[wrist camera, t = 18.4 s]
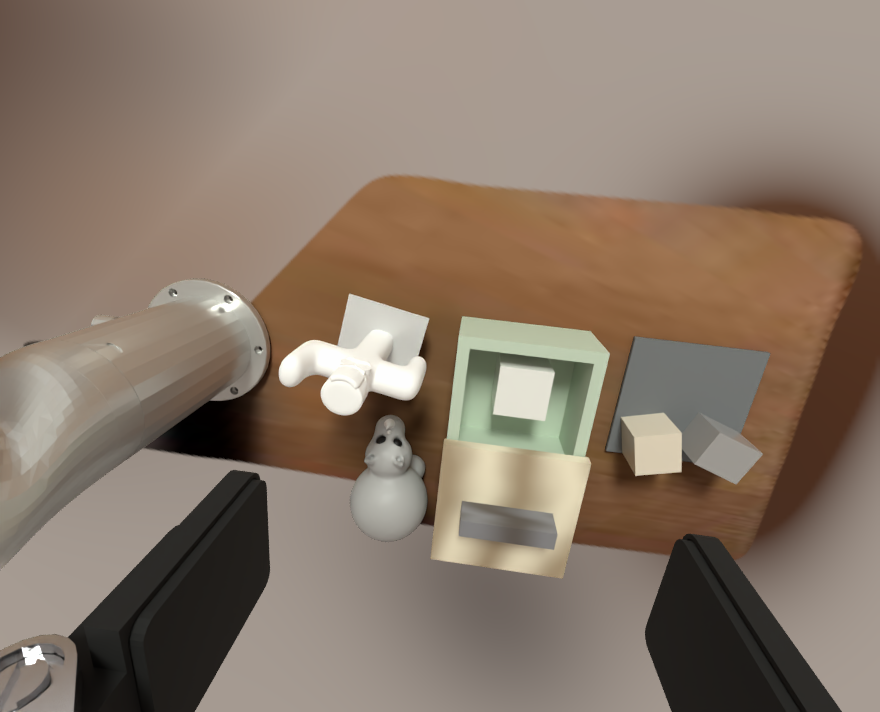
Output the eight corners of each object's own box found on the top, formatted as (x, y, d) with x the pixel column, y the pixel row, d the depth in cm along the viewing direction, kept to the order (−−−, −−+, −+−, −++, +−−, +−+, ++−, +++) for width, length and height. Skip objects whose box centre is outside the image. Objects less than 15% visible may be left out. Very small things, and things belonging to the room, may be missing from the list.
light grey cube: (675, 441, 43) (694, 464, 39) (698, 412, 42) (720, 432, 38) (714, 460, 43) (736, 484, 40) (737, 431, 42) (763, 453, 38)
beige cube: (622, 452, 44) (635, 475, 40) (620, 417, 43) (634, 437, 39) (664, 448, 43) (681, 471, 40) (663, 412, 42) (681, 432, 38)
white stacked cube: (491, 391, 43) (492, 414, 38) (498, 347, 41) (500, 366, 36) (538, 397, 42) (545, 421, 38) (546, 353, 41) (554, 372, 36)
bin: (441, 489, 48) (436, 530, 42) (462, 316, 41) (458, 335, 35) (552, 504, 47) (562, 548, 41) (590, 331, 41) (609, 353, 35)
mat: (605, 448, 44) (606, 450, 44) (634, 336, 40) (635, 337, 40) (726, 464, 44) (728, 467, 43) (767, 352, 40) (770, 353, 39)
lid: (431, 551, 42) (427, 581, 39) (444, 438, 38) (440, 461, 35) (560, 570, 41) (567, 602, 38) (588, 457, 37) (599, 482, 34)
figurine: (424, 379, 44) (396, 463, 30) (333, 351, 44) (263, 421, 30) (444, 312, 41) (425, 368, 27) (349, 282, 41) (279, 323, 27)
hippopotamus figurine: (437, 401, 44) (427, 446, 36) (430, 503, 49) (420, 564, 40) (365, 394, 45) (338, 437, 37) (364, 495, 49) (340, 555, 41)
